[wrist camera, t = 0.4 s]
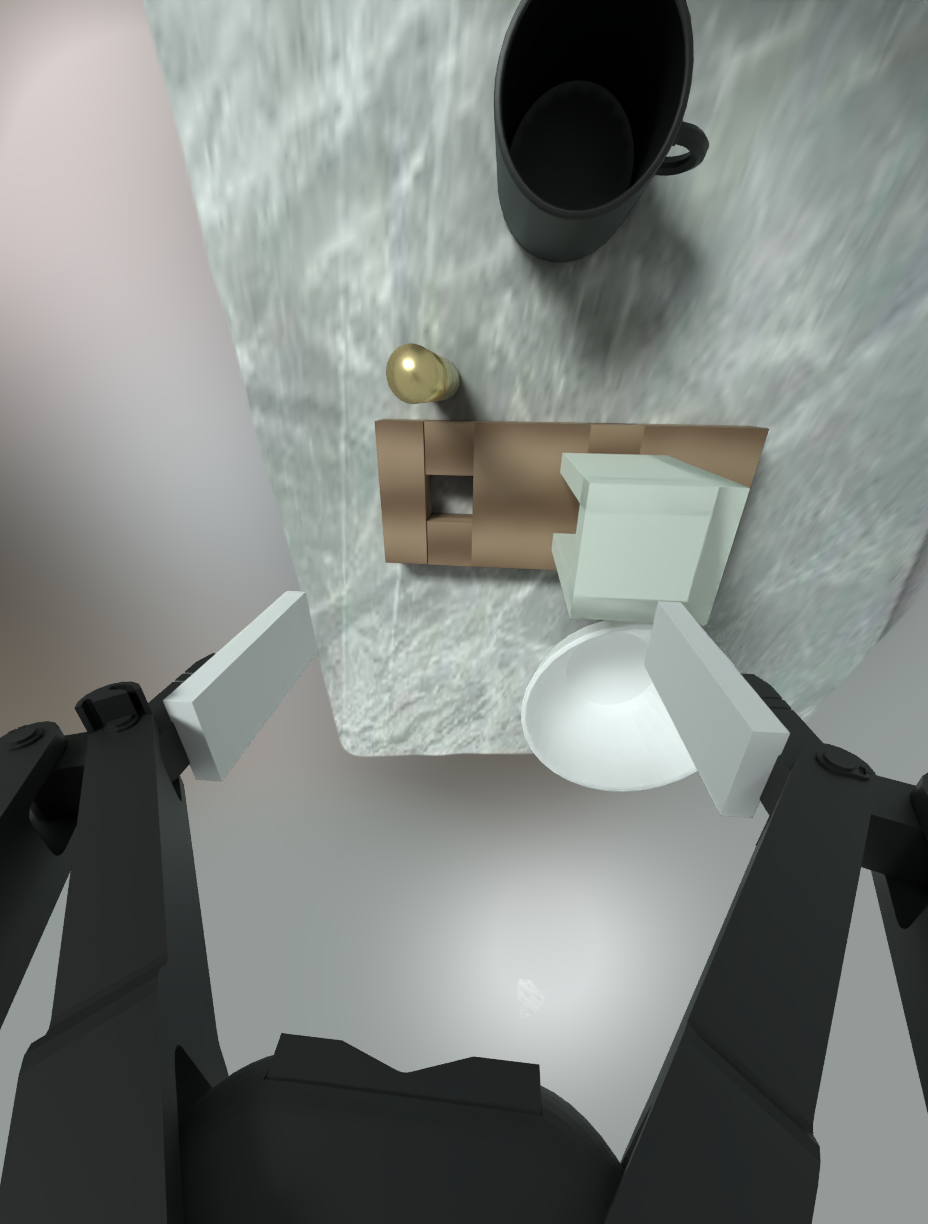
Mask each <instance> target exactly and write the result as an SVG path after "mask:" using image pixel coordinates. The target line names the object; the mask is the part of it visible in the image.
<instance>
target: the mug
mask: <svg viewBox="0 0 928 1224" xmlns="http://www.w3.org/2000/svg"><path fill="white" fill-rule="evenodd" d="M693 62H694V56H693V33H692V26H691V18H690V14H689V10H688V7H687V3H686V0H521V2H520V4H519V6H518V8H517V9H516V11H515V14H514V16H513V18H512V20H511V23H510V25H509V27H508V30H507V32H506V35H505V38H504V42H503V45H502V49H501V52H500V56H499V61H498V66H497V72H496V78H495V90H494V120H495V140H496V159H497V179H498V194H499V200H500V205H501V209H502V212H503V216H504V219H505V221H506V223H507V225H508V227H509V229H510V231H511V233H512V234H513V236H514V237H515V239H516V240H517V241H518V242H519V243H520V244H521V245H522V247H524V248H525V249H526V250H527V251H528V252H530V253H531V254H532V255H534V256H536V257H539V258H541V259H543V260H547V261H551V262H568V261H574V260H577V259H580V258H583V257H585V256H587V255H589V254H591V253H592V252H594V251H596V250H597V249H598V248H600V247H601V246H602V245H603V244H604V243H606V242H607V241H608V240H609V239H610V238H611V237H612V236H613V234H614V233H615V232H616V230H617V229H618V228H619V227H620V225H621V224H622V222H623V221H624V219H625V218H626V216H627V215H628V213H629V212H630V210H631V209H632V207H633V206H634V204H635V203H636V201H637V200H638V198H639V197H640V195H641V194H642V192H643V191H644V189H645V188H646V186H647V185H648V183H649V182H650V180H651V179H652V177H654V175H661V176H667V175H675V174H680V173H683V172H686V171H688V170H691V169H693V168H695V167H696V166H698V165H699V164H700V163H701V162H702V161H703V159H704V157H705V155H706V152H707V150H708V148H709V142H708V139H707V137H706V135H705V133H704V132H703V131H702V130H701V129H700V128H699V127H697V126H695V125H693V124H690V123H687V122H683V116H684V113H685V110H686V107H687V102H688V98H689V93H690V88H691V82H692V72H693ZM675 144H677V145H680V146H684V147H685V148H687V149H688V150H689V151H690V152H688V153H686V154H683V155H679V156H673V157H666V156H667V154H668V152H669V150H670V149H671V146H675Z"/></svg>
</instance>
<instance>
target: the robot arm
mask: <svg viewBox="0 0 928 1224" xmlns="http://www.w3.org/2000/svg"><path fill="white" fill-rule="evenodd" d="M317 653H318V651H317V646H316V641H315V636H314V631H313V626H312V621H311V616H310V611H309V606H308V601H307V596H306V592H294V591H286V592H285V593H284V594H283V595H282V596H281V597H280V598H278V599H277V600H276V601H275V602H274V603H273V604H272V605H271V606H269V607H268V608H267V609H266V610H265V611H264V612H263V613H261V614H260V615H259V616H258V617H257V618H256V619H255V620H254V621H252V622H251V623H250V624H249V625H248V626H247V627H246V628H245V629H243V630H242V631H241V632H240V633H239V634H238V635H236V636H235V637H234V638H233V639H232V640H231V641H230V642H229V643H227V644H226V645H225V646H224V647H223V648H222V649H221V650H220V651H218V652H217V653H212V654H210V655H208V656H207V657H205V658H203V659H201V660H199V661H197V662H196V663H194V664H193V665H192V666H191V667H190V668H189V669H187V670H186V671H185V674H182V675H180V676H179V677H178V678H177V679H176V680H175V682H172V683H171V684H170V685H169V686H168V687H167V688H165V689H164V690H163V691H162V692H161V693H159V694H158V695H157V696H156V697H155V698H154V699H152V700H151V701H150V702H149V703H148V702H147V700H146V698H145V695H144V693H143V691H142V689H141V687H140V685H139V684H138V683H135V682H119V683H114V684H110V685H107V686H104V687H102V688H99V689H97V690H94V691H93V692H91V693H89V694H87V695H86V696H84V697H83V698H82V699H81V700H79V701H78V703H77V704H76V706H75V710H76V712H77V714H78V715H79V717H80V719H81V721H82V723H83V725H84V726H85V728H86V730H87V732H84V733H78V734H72V735H66V736H64V735H63V733H62V731H61V729H60V728H59V726H58V725H57V724H56V723H54V722H49V721H46V722H37V723H34V724H30V725H24V726H22V727H19V728H18V729H15V730H12V731H10V732H8V733H7V734H6V735H4V736H2V737H1V738H0V1029H1V1026H2V1024H3V1022H4V1020H5V1017H6V1015H7V1013H8V1011H9V1008H10V1006H11V1004H12V1002H13V999H14V997H15V995H16V992H17V990H18V988H19V986H20V984H21V981H22V979H23V977H24V975H25V972H26V970H27V968H28V966H29V963H30V961H31V959H32V956H33V954H34V952H35V950H36V948H37V945H38V943H39V940H40V938H41V936H42V934H43V932H44V929H45V927H46V925H47V923H48V920H49V918H50V916H51V914H52V911H53V909H54V907H55V904H56V902H57V900H58V898H59V896H60V893H61V891H62V889H63V887H64V884H65V882H66V880H67V878H68V875H69V873H70V871H71V873H70V880H69V888H68V895H67V904H66V911H65V918H64V926H63V933H62V941H61V949H60V957H59V964H58V971H57V979H56V987H55V994H54V1002H53V1009H52V1017H51V1022H50V1026H49V1030H48V1031H47V1033H46V1035H45V1036H43V1037H41V1038H40V1039H38V1040H36V1041H35V1042H33V1043H31V1045H30V1047H29V1048H28V1050H27V1052H26V1054H25V1055H24V1058H23V1061H22V1065H21V1069H20V1073H19V1077H18V1083H17V1089H16V1095H15V1101H14V1107H13V1112H12V1118H11V1125H10V1130H9V1136H8V1142H7V1148H6V1154H5V1160H4V1167H3V1172H2V1178H1V1184H0V1224H812V1217H813V1212H814V1206H815V1200H816V1194H817V1188H818V1180H819V1171H820V1146H819V1145H818V1143H817V1141H816V1139H815V1137H814V1135H813V1120H814V1113H815V1108H816V1103H817V1098H818V1092H819V1087H820V1081H821V1076H822V1071H823V1066H824V1060H825V1055H826V1050H827V1044H828V1038H829V1033H830V1028H831V1023H832V1018H833V1013H834V1007H835V1002H836V997H837V991H838V986H839V980H840V976H841V970H842V964H843V959H844V954H845V948H846V944H847V938H848V933H849V928H850V923H851V917H852V912H853V906H854V901H855V896H856V890H857V885H858V880H859V875H860V869H861V867H863V868H866V869H869V870H871V872H872V876H873V880H874V885H875V889H876V893H877V898H878V902H879V906H880V911H881V915H882V919H883V923H884V927H885V932H886V936H887V941H888V945H889V949H890V953H891V958H892V962H893V966H894V970H895V975H896V979H897V983H898V988H899V992H900V996H901V1001H902V1004H903V1009H904V1013H905V1018H906V1022H907V1026H908V1030H909V1035H910V1039H911V1043H912V1048H913V1052H914V1056H915V1060H916V1065H917V1069H918V1073H919V1078H920V1082H921V1086H922V1090H923V1095H924V1099H925V1103H926V1107H927V1112H928V773H926V774H925V775H923V776H922V778H921V779H920V781H919V782H918V784H917V785H916V786H915V785H911V784H907V783H903V782H900V781H896V780H892V779H888V778H884V777H880V776H877V775H876V774H875V772H874V771H873V770H872V769H871V768H870V766H869V765H868V764H867V763H865V762H864V761H862V760H861V759H860V758H859V757H857V756H856V755H854V754H852V753H850V752H848V751H846V750H844V749H842V748H839V747H836V746H833V745H830V744H824V743H822V741H821V740H820V739H819V738H818V737H817V736H816V735H815V734H814V733H813V732H812V730H811V729H810V728H809V727H808V726H807V725H806V724H805V723H804V722H803V720H802V719H801V718H800V717H799V716H798V715H797V714H796V713H795V712H794V711H793V710H791V707H790V706H789V705H788V704H787V703H786V702H785V701H784V700H782V697H781V696H780V695H779V694H778V693H777V692H776V691H775V690H774V688H773V687H772V686H771V685H769V684H768V683H766V682H765V681H763V680H762V679H760V678H758V677H757V676H755V675H754V674H740V673H739V672H738V670H737V669H736V668H735V667H734V666H733V664H732V663H731V662H730V661H729V660H728V658H727V657H726V656H725V655H724V654H723V652H722V651H721V650H720V649H719V648H718V646H717V645H716V644H715V643H714V642H713V641H712V639H711V638H710V637H709V636H708V635H707V633H706V632H705V631H704V630H703V629H702V627H701V626H700V625H699V624H698V623H697V621H696V620H695V619H694V618H693V617H692V615H691V614H690V613H689V612H688V611H687V609H686V608H685V607H684V606H683V605H682V603H681V602H663V601H658V604H657V608H656V613H655V618H654V622H653V627H652V632H651V636H650V641H649V645H648V650H647V655H646V659H645V664H644V666H645V668H646V670H647V672H648V674H649V676H650V678H651V680H652V682H653V684H654V686H655V688H656V690H657V692H658V694H659V696H660V698H661V700H662V702H663V704H664V706H665V708H666V710H667V712H668V714H669V716H670V718H671V719H672V721H673V723H674V725H675V727H676V729H677V731H678V733H679V735H680V737H681V739H682V741H683V743H684V745H685V747H686V749H687V751H688V753H689V755H690V757H691V759H692V761H693V763H694V765H695V767H696V769H697V771H698V773H699V775H700V777H701V778H702V781H703V782H704V785H705V786H706V789H707V790H708V792H709V795H710V797H711V799H712V800H713V802H714V804H715V806H716V808H717V810H718V812H719V814H720V816H730V817H744V818H753V816H754V814H755V812H756V810H757V807H758V805H759V803H760V801H761V803H762V804H763V805H764V807H765V809H766V811H767V812H768V814H769V815H770V816H769V818H768V820H767V822H766V825H765V827H764V829H763V831H762V833H761V835H760V837H759V840H758V842H757V844H756V848H755V851H754V853H753V855H752V858H751V860H750V862H749V865H748V867H747V869H746V871H745V874H744V876H743V878H742V881H741V883H740V885H739V888H738V890H737V893H736V895H735V897H734V900H733V902H732V904H731V907H730V909H729V911H728V914H727V916H726V918H725V921H724V923H723V925H722V928H721V930H720V932H719V935H718V937H717V939H716V942H715V944H714V946H713V949H712V951H711V954H710V956H709V958H708V961H707V963H706V965H705V968H704V970H703V972H702V975H701V977H700V979H699V982H698V984H697V986H696V989H695V991H694V993H693V996H692V998H691V1000H690V1003H689V1005H688V1007H687V1010H686V1012H685V1015H684V1017H683V1019H682V1022H681V1024H680V1026H679V1029H678V1031H677V1033H676V1036H675V1038H674V1040H673V1043H672V1045H671V1047H670V1050H669V1052H668V1054H667V1057H666V1059H665V1061H664V1064H663V1066H662V1068H661V1071H660V1073H659V1075H658V1078H657V1080H656V1082H655V1085H654V1087H653V1089H652V1092H651V1094H650V1096H649V1099H648V1101H647V1103H646V1105H645V1108H644V1110H643V1112H642V1114H641V1117H640V1119H639V1121H638V1123H637V1126H636V1128H635V1130H634V1132H633V1134H632V1137H631V1139H630V1142H629V1144H628V1146H627V1148H626V1151H625V1153H624V1155H623V1158H622V1160H621V1162H619V1161H618V1159H617V1158H616V1156H615V1155H614V1154H613V1152H612V1151H611V1149H610V1148H609V1146H608V1145H607V1144H606V1142H605V1141H604V1139H603V1138H602V1137H601V1135H600V1134H599V1133H598V1132H597V1131H596V1130H595V1129H594V1127H593V1126H592V1125H591V1124H590V1123H589V1122H588V1121H587V1119H585V1118H584V1117H583V1116H582V1115H581V1114H580V1113H579V1112H578V1111H577V1110H576V1109H575V1108H574V1107H573V1106H572V1105H571V1104H569V1103H568V1102H566V1101H565V1100H563V1099H562V1098H561V1097H559V1096H558V1095H557V1094H555V1093H554V1092H552V1091H550V1090H548V1089H546V1088H544V1087H542V1086H541V1085H540V1070H539V1065H538V1064H530V1063H522V1062H514V1061H505V1060H497V1059H489V1058H481V1057H470V1058H466V1059H462V1060H458V1061H454V1062H450V1063H445V1064H442V1065H437V1066H433V1067H429V1068H425V1069H421V1070H417V1071H413V1072H408V1073H404V1072H399V1071H397V1070H395V1069H393V1068H391V1067H390V1066H388V1065H386V1064H384V1063H382V1062H380V1061H379V1060H377V1059H375V1058H373V1057H371V1056H369V1055H368V1054H366V1053H364V1052H362V1051H360V1050H359V1049H357V1048H355V1047H353V1046H351V1045H349V1044H348V1043H345V1042H344V1041H342V1040H333V1039H325V1038H317V1037H309V1036H301V1035H292V1034H285V1033H281V1036H280V1039H279V1042H278V1045H277V1047H276V1050H275V1053H274V1055H272V1056H268V1057H265V1058H263V1059H261V1060H258V1061H256V1062H253V1063H251V1064H249V1065H247V1066H245V1067H243V1068H241V1069H240V1070H238V1071H236V1072H234V1073H233V1074H231V1075H230V1076H228V1072H227V1068H226V1065H225V1061H224V1058H223V1055H222V1052H221V1049H220V1045H219V1041H218V1035H217V1029H216V1022H215V1014H214V1007H213V999H212V992H211V984H210V977H209V969H208V963H207V954H206V947H205V939H204V932H203V924H202V917H201V909H200V902H199V894H198V887H197V879H196V872H195V864H194V857H193V850H192V842H191V834H190V827H189V820H188V812H187V805H186V797H185V790H184V784H183V781H182V779H181V777H180V774H181V773H182V772H183V771H184V770H185V769H186V767H187V766H188V765H189V764H190V766H191V769H192V771H193V774H194V776H195V778H196V780H207V781H208V780H209V781H223V780H224V778H225V777H226V776H227V774H228V773H229V771H230V770H231V769H232V767H233V766H234V765H235V763H236V762H237V761H238V759H239V758H240V757H241V755H242V754H243V753H244V751H245V750H246V749H247V747H248V746H249V744H250V743H251V742H252V740H253V739H254V738H255V736H256V735H257V734H258V732H259V731H260V730H261V728H262V727H263V725H264V724H265V723H266V722H267V720H268V719H269V717H270V716H271V715H272V713H273V712H274V711H275V709H276V708H277V707H278V705H279V704H280V703H281V701H282V700H283V698H284V697H285V696H286V694H287V693H288V692H289V690H290V689H291V688H292V686H293V685H294V684H295V682H296V681H297V680H298V678H299V677H300V676H301V674H302V673H303V671H304V670H305V669H306V667H307V666H308V665H309V663H310V662H311V661H312V659H313V658H314V657H315V655H316V654H317Z"/></svg>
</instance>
